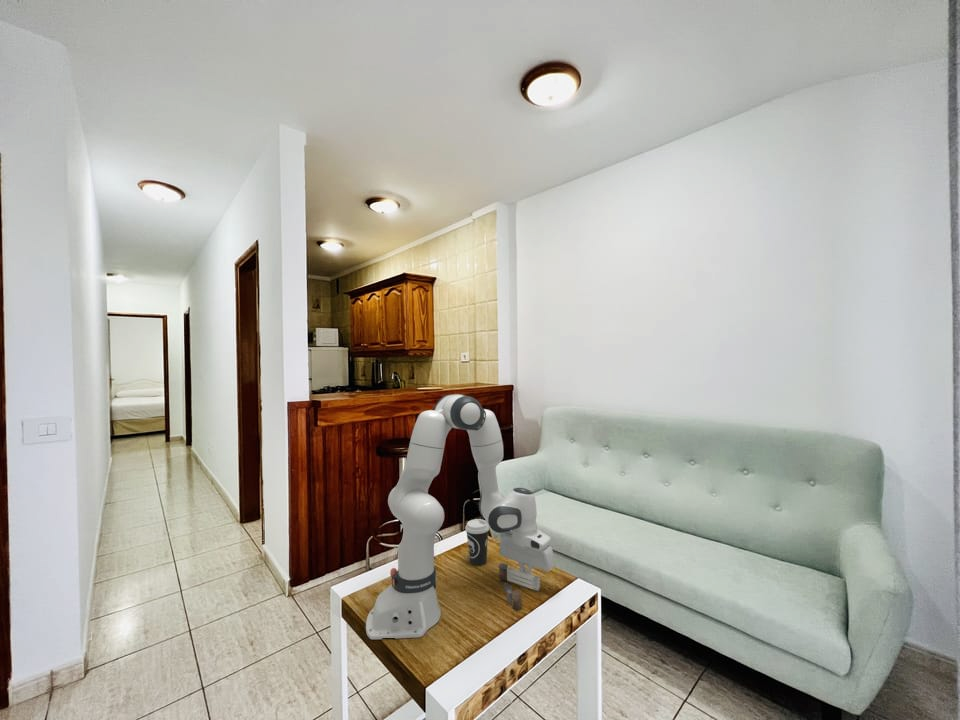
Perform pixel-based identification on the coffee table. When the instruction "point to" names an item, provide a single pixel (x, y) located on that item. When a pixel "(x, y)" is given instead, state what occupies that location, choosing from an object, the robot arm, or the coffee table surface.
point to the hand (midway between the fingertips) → (526, 575)
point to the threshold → (508, 588)
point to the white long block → (523, 578)
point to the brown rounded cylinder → (515, 599)
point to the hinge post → (503, 572)
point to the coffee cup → (477, 541)
